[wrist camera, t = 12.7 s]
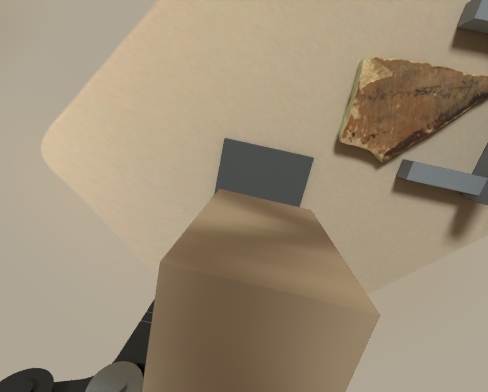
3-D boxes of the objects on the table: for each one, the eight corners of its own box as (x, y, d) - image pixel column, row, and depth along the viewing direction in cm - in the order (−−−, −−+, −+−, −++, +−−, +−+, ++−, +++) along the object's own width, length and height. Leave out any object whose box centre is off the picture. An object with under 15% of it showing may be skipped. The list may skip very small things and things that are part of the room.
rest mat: (312, 157, 21) (313, 158, 20) (277, 279, 25) (277, 281, 24) (225, 138, 21) (224, 138, 21) (202, 262, 25) (201, 264, 24)
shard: (493, 83, 19) (517, 79, 17) (450, 176, 21) (467, 180, 19) (358, 56, 19) (368, 49, 17) (329, 151, 21) (335, 153, 19)
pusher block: (311, 210, 10) (380, 314, 4) (256, 383, 13) (252, 597, 7) (219, 188, 10) (160, 261, 4) (184, 365, 13) (117, 561, 7)
